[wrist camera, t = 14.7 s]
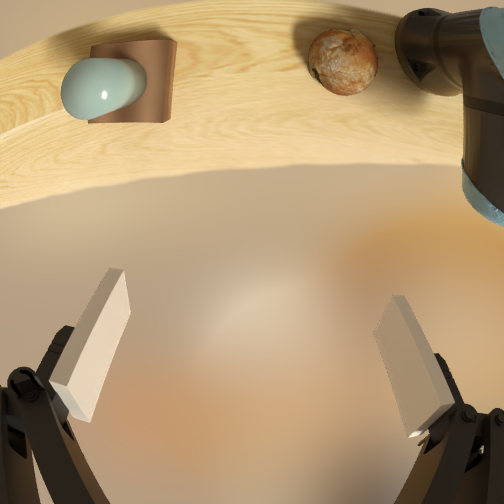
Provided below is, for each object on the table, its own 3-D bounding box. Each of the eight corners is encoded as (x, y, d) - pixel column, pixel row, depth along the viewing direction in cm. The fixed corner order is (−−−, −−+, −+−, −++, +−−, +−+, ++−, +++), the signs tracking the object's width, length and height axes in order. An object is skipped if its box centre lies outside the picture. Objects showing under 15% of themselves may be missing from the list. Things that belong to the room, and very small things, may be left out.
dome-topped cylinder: (149, 58, 33) (118, 56, 24) (144, 106, 37) (113, 119, 27) (103, 60, 32) (62, 61, 23) (100, 106, 36) (60, 120, 27)
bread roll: (298, 50, 39) (286, 61, 34) (348, 13, 32) (346, 16, 27) (340, 96, 43) (336, 114, 38) (391, 64, 35) (396, 77, 31)
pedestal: (177, 42, 35) (170, 39, 32) (170, 118, 41) (163, 122, 38) (103, 47, 34) (91, 46, 31) (99, 119, 41) (87, 123, 37)
